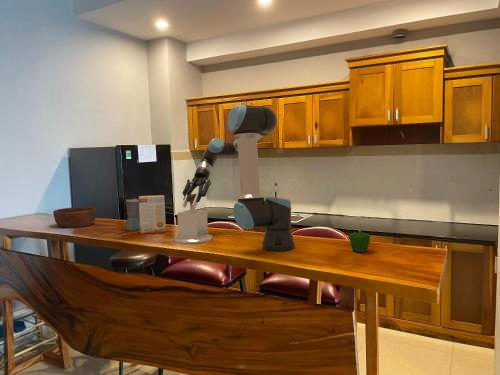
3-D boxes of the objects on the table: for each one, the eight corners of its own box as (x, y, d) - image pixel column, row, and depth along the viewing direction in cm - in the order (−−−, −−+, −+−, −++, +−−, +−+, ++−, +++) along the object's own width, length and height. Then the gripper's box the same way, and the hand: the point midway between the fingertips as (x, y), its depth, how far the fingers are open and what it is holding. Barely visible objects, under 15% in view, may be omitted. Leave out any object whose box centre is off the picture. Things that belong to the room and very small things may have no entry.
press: (219, 236, 195) (218, 209, 194) (201, 245, 176) (200, 215, 175) (185, 234, 202) (185, 208, 200) (165, 242, 183) (164, 213, 182)
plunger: (204, 235, 191) (203, 193, 189) (196, 238, 183) (195, 195, 182) (190, 234, 194) (188, 193, 192) (181, 237, 186) (180, 194, 184)
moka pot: (141, 231, 212) (140, 197, 210) (117, 230, 215) (115, 196, 213) (149, 228, 221) (147, 195, 219) (125, 227, 224) (124, 195, 222)
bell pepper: (354, 248, 167) (354, 226, 166) (372, 250, 161) (372, 228, 161) (346, 251, 160) (346, 229, 159) (364, 254, 155) (364, 231, 154)
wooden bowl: (75, 221, 251) (74, 206, 251) (105, 222, 244) (104, 207, 243) (44, 228, 228) (43, 211, 227) (76, 229, 220) (76, 212, 219)
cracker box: (165, 230, 213) (164, 194, 212) (165, 232, 208) (164, 195, 206) (140, 232, 210) (139, 195, 208) (140, 234, 204) (138, 196, 202)
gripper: (220, 177, 198) (207, 211, 183) (190, 176, 204) (175, 210, 190) (216, 167, 192) (202, 202, 178) (185, 167, 198) (170, 201, 184)
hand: (188, 206), depth 184 cm, fingers closed on plunger, 5 cm apart
